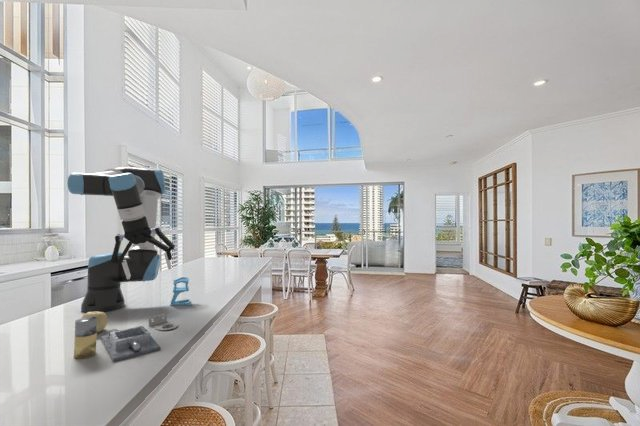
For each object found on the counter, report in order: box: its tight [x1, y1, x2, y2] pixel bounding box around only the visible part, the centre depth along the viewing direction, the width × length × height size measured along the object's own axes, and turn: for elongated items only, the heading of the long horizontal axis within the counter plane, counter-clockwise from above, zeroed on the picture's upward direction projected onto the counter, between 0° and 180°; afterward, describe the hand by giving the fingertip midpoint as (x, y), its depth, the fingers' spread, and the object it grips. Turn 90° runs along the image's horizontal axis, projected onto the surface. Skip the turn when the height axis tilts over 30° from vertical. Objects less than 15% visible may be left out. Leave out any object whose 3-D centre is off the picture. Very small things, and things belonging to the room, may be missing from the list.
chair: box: [169, 276, 191, 306], centre depth 138 cm, size 8×8×12 cm
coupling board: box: [100, 325, 161, 363], centre depth 94 cm, size 20×12×4 cm, turn 44°
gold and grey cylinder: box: [73, 317, 98, 360], centre depth 86 cm, size 5×5×10 cm
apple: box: [80, 311, 108, 334], centre depth 103 cm, size 8×8×8 cm
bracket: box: [148, 313, 178, 331], centre depth 109 cm, size 7×10×4 cm, turn 57°
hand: (149, 272), depth 111 cm, fingers open, 13 cm apart
